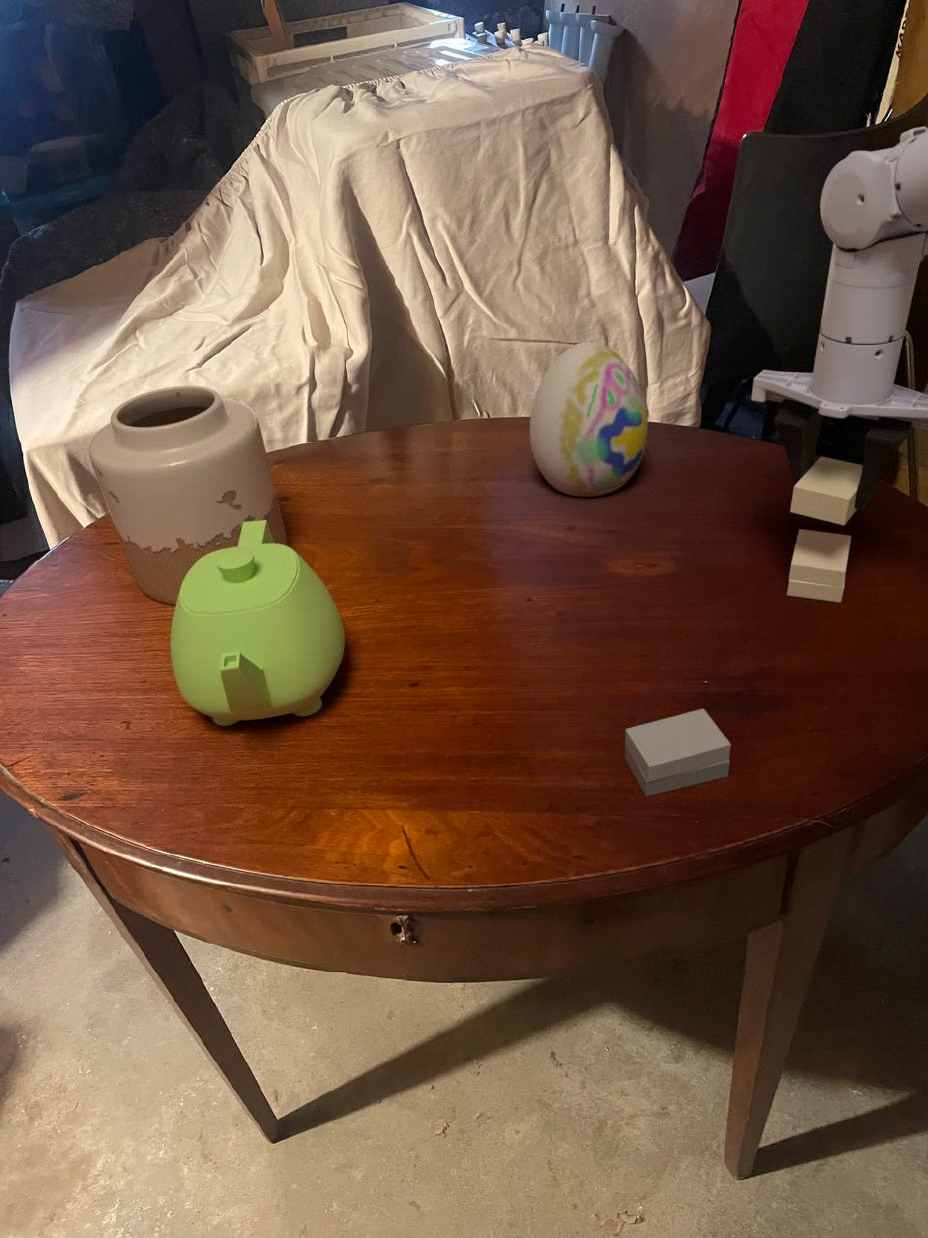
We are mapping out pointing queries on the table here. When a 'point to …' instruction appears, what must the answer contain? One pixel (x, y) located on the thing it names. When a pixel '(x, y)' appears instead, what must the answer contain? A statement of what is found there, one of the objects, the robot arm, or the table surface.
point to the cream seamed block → (819, 566)
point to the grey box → (677, 752)
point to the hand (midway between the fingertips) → (830, 496)
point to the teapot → (254, 632)
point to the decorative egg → (588, 422)
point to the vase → (182, 481)
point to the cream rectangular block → (827, 491)
